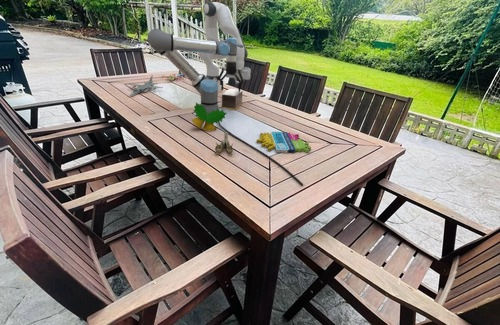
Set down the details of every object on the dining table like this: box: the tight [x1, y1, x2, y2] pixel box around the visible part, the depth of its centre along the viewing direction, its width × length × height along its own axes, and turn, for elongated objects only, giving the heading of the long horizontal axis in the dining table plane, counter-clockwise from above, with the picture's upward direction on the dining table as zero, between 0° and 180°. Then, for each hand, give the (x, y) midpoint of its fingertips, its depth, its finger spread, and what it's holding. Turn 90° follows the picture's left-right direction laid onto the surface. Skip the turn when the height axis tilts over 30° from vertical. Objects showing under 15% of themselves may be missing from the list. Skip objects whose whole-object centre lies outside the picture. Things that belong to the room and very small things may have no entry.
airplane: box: [127, 74, 164, 98], centre depth 227 cm, size 38×31×10 cm
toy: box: [161, 69, 187, 82], centre depth 279 cm, size 28×7×30 cm
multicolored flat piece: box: [256, 131, 312, 154], centre depth 152 cm, size 26×2×30 cm
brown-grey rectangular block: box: [221, 88, 243, 111], centre depth 207 cm, size 19×11×11 cm, turn 167°
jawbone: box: [214, 131, 234, 156], centre depth 136 cm, size 9×15×10 cm
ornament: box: [191, 102, 228, 132], centre depth 162 cm, size 21×8×15 cm, turn 105°
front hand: (230, 91), depth 199 cm, fingers open, 13 cm apart
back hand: (237, 84), depth 216 cm, fingers closed
